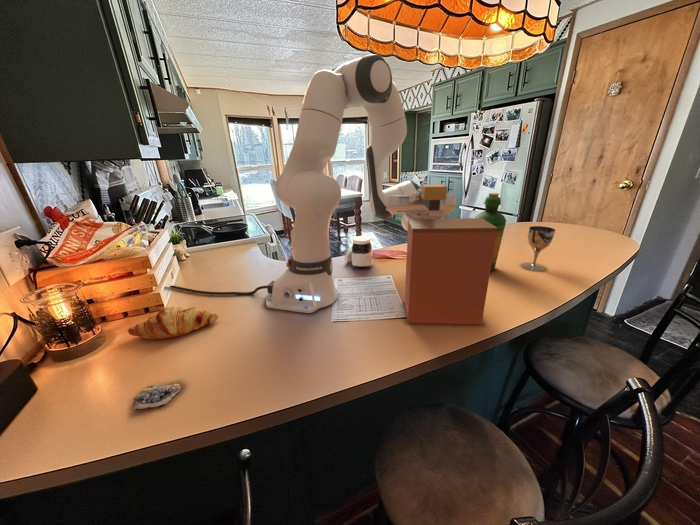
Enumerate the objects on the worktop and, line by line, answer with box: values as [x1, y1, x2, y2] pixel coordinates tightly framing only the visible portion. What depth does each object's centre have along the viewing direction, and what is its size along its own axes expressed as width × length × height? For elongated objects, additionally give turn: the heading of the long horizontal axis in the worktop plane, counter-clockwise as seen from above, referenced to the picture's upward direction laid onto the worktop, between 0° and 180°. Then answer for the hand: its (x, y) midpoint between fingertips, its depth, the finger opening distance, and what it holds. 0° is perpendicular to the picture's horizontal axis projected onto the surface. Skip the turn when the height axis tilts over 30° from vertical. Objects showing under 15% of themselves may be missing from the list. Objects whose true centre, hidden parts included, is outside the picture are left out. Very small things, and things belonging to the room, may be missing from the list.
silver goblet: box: [522, 225, 556, 272], centre depth 103 cm, size 8×8×15 cm
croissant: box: [127, 306, 219, 340], centre depth 74 cm, size 21×10×8 cm, turn 111°
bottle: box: [474, 192, 507, 272], centre depth 101 cm, size 11×11×28 cm
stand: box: [404, 217, 497, 325], centre depth 73 cm, size 19×10×26 cm, turn 85°
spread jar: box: [344, 235, 373, 270], centre depth 112 cm, size 12×11×12 cm
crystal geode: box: [131, 383, 182, 410], centre depth 54 cm, size 7×8×2 cm
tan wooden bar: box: [417, 183, 448, 210], centre depth 73 cm, size 5×21×5 cm, turn 175°
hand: (424, 194), depth 78 cm, fingers closed on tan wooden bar, 2 cm apart
